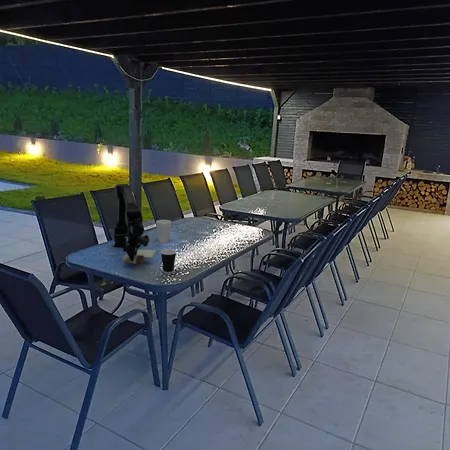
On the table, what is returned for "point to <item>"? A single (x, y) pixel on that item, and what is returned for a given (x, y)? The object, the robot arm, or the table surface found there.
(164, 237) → the foam cup
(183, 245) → the table surface
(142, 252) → the mat
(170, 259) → the dixie cup
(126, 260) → the two-tone brown block
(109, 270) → the table surface
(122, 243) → the robot arm
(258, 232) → the table surface
